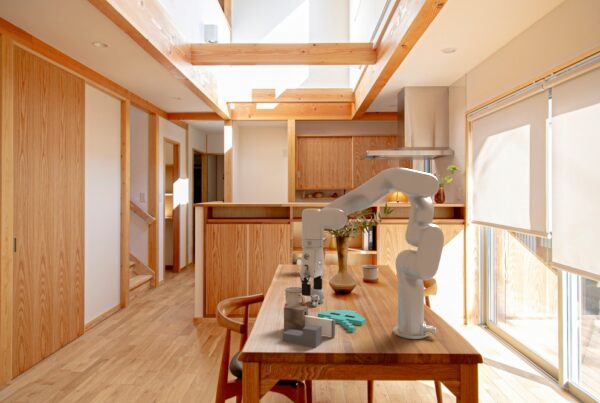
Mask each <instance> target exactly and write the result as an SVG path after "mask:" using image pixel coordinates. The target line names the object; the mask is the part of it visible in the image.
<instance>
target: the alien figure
mask: <svg viewBox="0 0 600 403" xmlns="http://www.w3.org/2000/svg"><path fill="white" fill-rule="evenodd" d="M317 317H319V318H326V319H332V320H333V319H334V320H335V324H340V325H341V327H343V328H344V329H345V330H347V332H348V333H354V332H356V326H355V325H357V326H360V327H361V326H364V325H365V324H366V322H367V319H366V318H365V317H363V315H360V313H358V311H356V310H348V309H341V310H339V309H335V310H327V311H325V310H321V311H320V312H318V313H317Z"/></svg>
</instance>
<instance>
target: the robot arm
mask: <svg viewBox="0 0 600 403" xmlns="http://www.w3.org/2000/svg"><path fill="white" fill-rule="evenodd" d="M439 190H440V181H439V180H438V178H437V177H436V176H435V175H434V174H433V173H428V172H424V171H419V170H415V169H410V168H406V167H401V166H399V167H392V168H386V169H383V170H382V171H380V172H379V173H376V175H375V176H372V177H371V178H369V179H368V180H367V181H365V182H364V183H362V184H361V185H359V186H358V187H356V188H354V189H352V190H350V191H349V192H347V193H345V194H343V195H342V196H340V197H338V198H336V199H334V200H333V201H331V203H328V204H327V205H326V206H324V207H322V208H305V209H303V210H302V212H301V248H302V252H301V267H300V268H301V270H300V272H299V276H300V281H301V282H300V283H301V296H305V297H310V295H311V288H312V287H313V288H314V289H317V290H322V288H323V277H324V276H323V275H324V273H325V259H324V253H323V250H324V230H325V229H328V230H337V231H338V230H341V229H343V228H344V227H345V226H346V225H347V223H348V216H349V215H350V214H352V213H355V212H358V211H364V210H367V209H368V208H371V207H373V206H374V205H375V204H377V203H379V201H381V200H383V199H385V197H387V196H389V195H390V194H392V193H394V192H402V193H403V194H405V196H406V198H407V199H408V201H409V204H410V211H409V213H410V214H409V217H408V221H407V226H406V230H405V236H404V238H405V241H406V243H407V244H408V245H410V246H411V247H414V248H417V250H415V249H414V250H413V249H404V250H402V251H400V252H399V253H398V254H397V255H396V258H395V271H396V277H397V278H396V279H397V325H396V326H394V327H393V329H392V330H393V333H394V334H395V335H396V336H398V337H400V338H404V339H407V340H409V339H410V340H421V339H425V338H427V337H428V336H429V333H431V334H436V333H437V327H434V326H433V325H427V324H426V321H425V320H424V319H425V313H424V312H425V306H424V304H425V302H424V300H425V284H424V281H429V280H431V279H433V277H435V276H436V274H437V272H438V269H439V266H440V262H441V257H442V253H443V247H444V243H445V236H444V232H443V230H442V228H441V227H440V226H439V225H436V224H434V223H433V220H434V215H435V214H434V213H435V206H434V202H433V199H432V197H434V196H435V195H437V193H438V192H439ZM312 279H313V286H312V284H311V281H312Z"/></svg>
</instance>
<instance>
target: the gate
mask: <svg viewBox="0 0 600 403" xmlns="http://www.w3.org/2000/svg"><path fill="white" fill-rule="evenodd" d="M308 324H312V325H318V326H322V336H326V337H331V338H335V336H336V323H335V320H334V319H333V320H332V319H326V318H319V317H318V316H311V315H308V316H306V315H304V327H305V326H307V325H308Z"/></svg>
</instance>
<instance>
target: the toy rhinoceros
mask: <svg viewBox="0 0 600 403" xmlns="http://www.w3.org/2000/svg"><path fill="white" fill-rule="evenodd" d="M309 297H310V302H311V304H312V305H311V306H312V307H314V308H316V307H318V306H319V305H322V304H323V303H324V299H325V290H324V288H323V287H322V290H317V289H314V288H313V286H311V295H310V296H309Z"/></svg>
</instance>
